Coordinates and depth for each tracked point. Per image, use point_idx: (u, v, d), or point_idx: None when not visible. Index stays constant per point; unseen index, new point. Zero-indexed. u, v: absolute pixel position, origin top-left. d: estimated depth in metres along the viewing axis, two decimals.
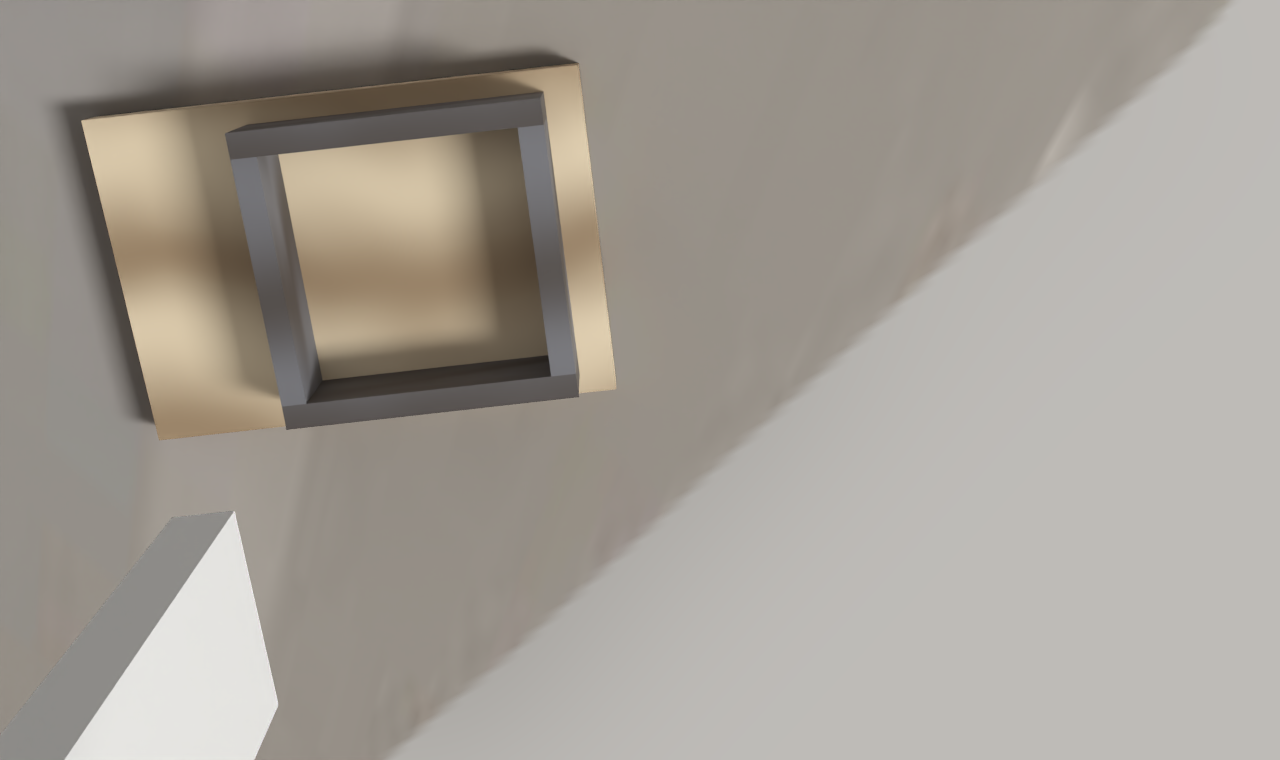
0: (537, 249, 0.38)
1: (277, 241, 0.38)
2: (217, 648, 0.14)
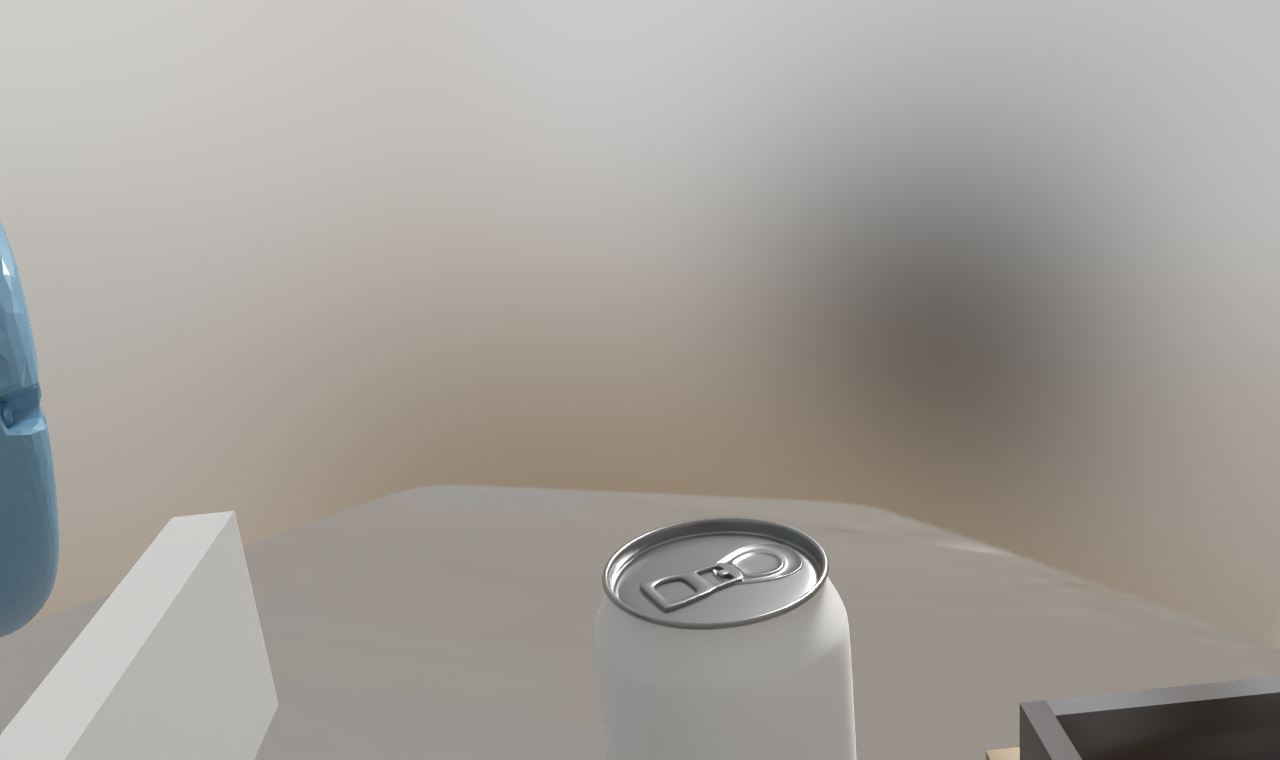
0: (1179, 700, 0.37)
1: None
2: (217, 648, 0.14)
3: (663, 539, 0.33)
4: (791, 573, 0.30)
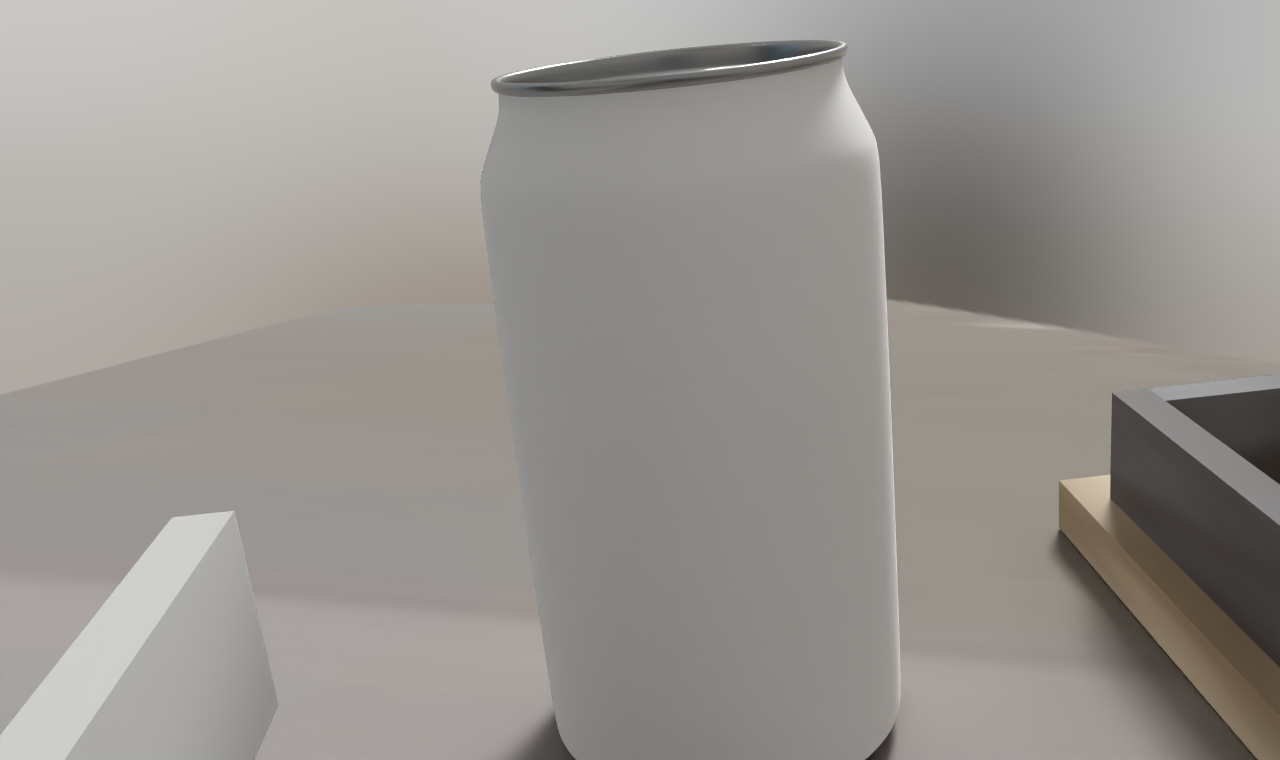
0: None
1: None
2: (217, 648, 0.14)
3: (595, 78, 0.22)
4: None
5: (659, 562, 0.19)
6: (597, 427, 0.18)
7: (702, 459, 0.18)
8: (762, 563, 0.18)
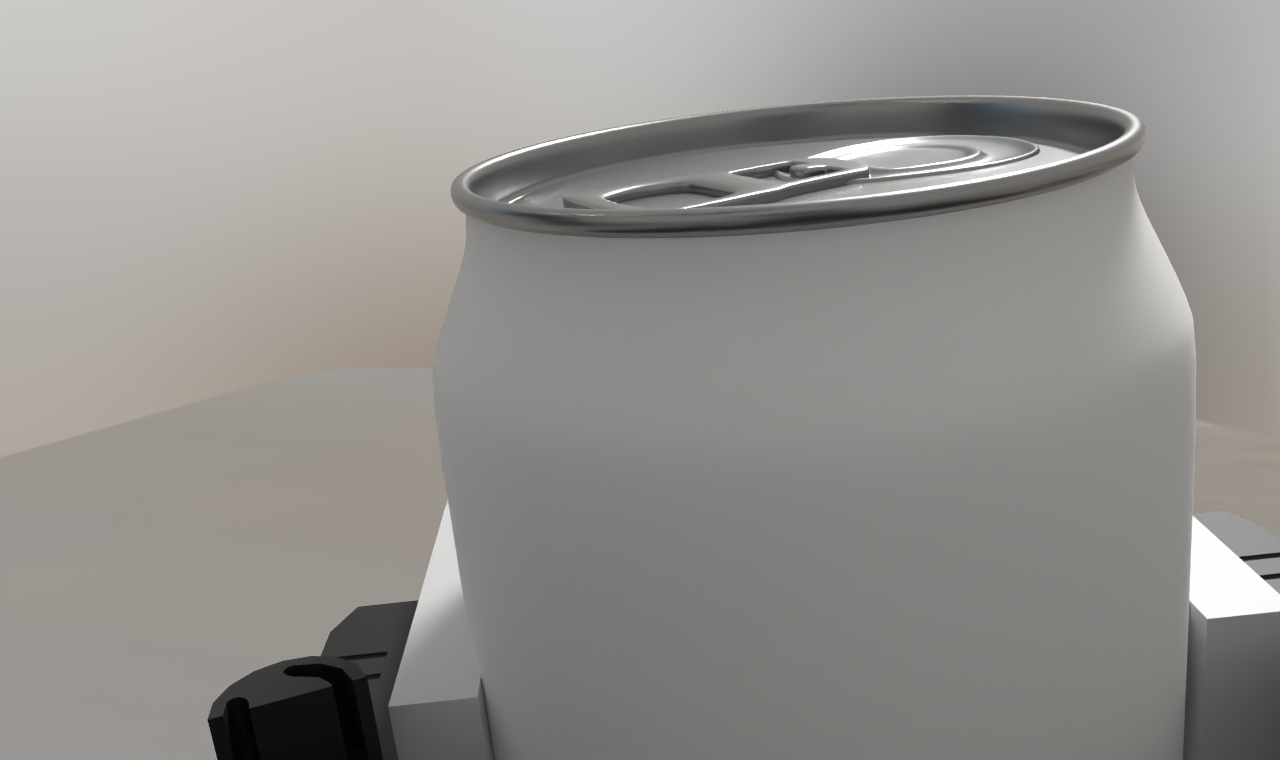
0: None
1: None
2: None
3: (640, 157, 0.13)
4: (1014, 158, 0.10)
5: None
6: None
7: None
8: None
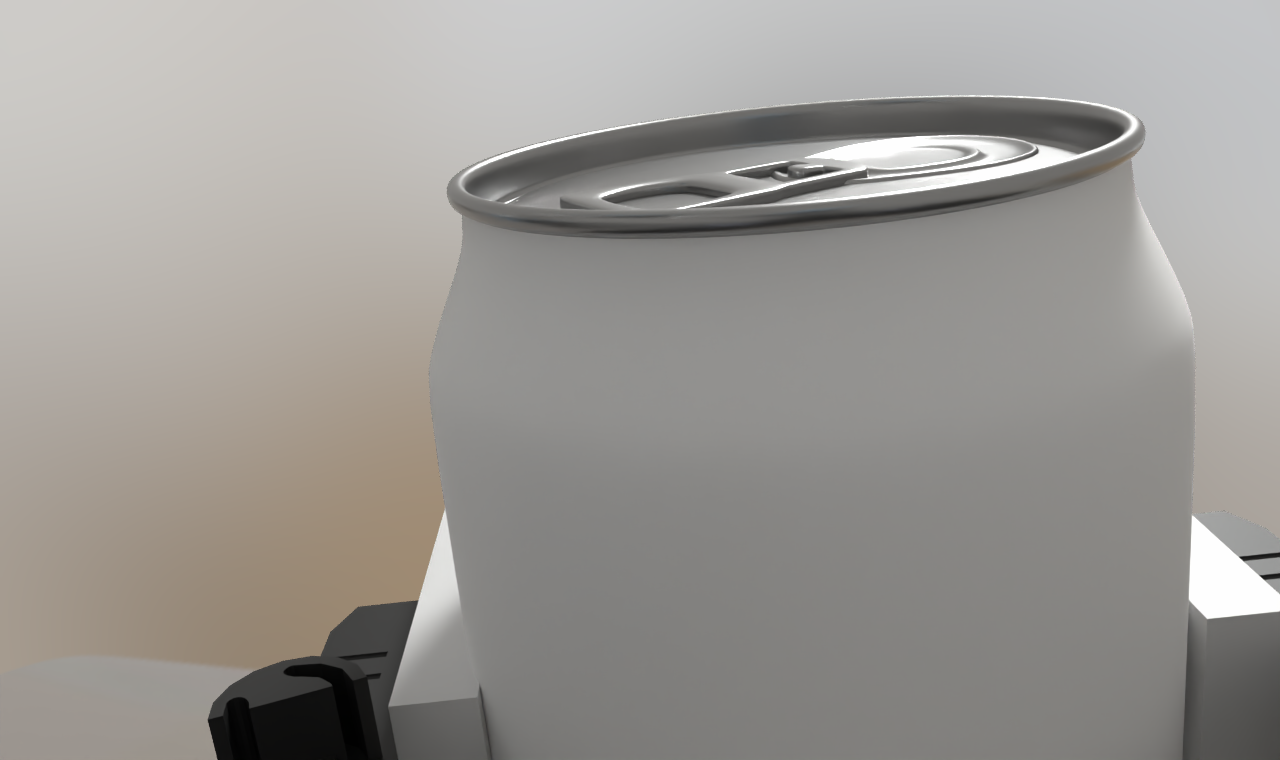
0: None
1: None
2: None
3: (637, 156, 0.13)
4: (1013, 158, 0.10)
5: None
6: None
7: None
8: None
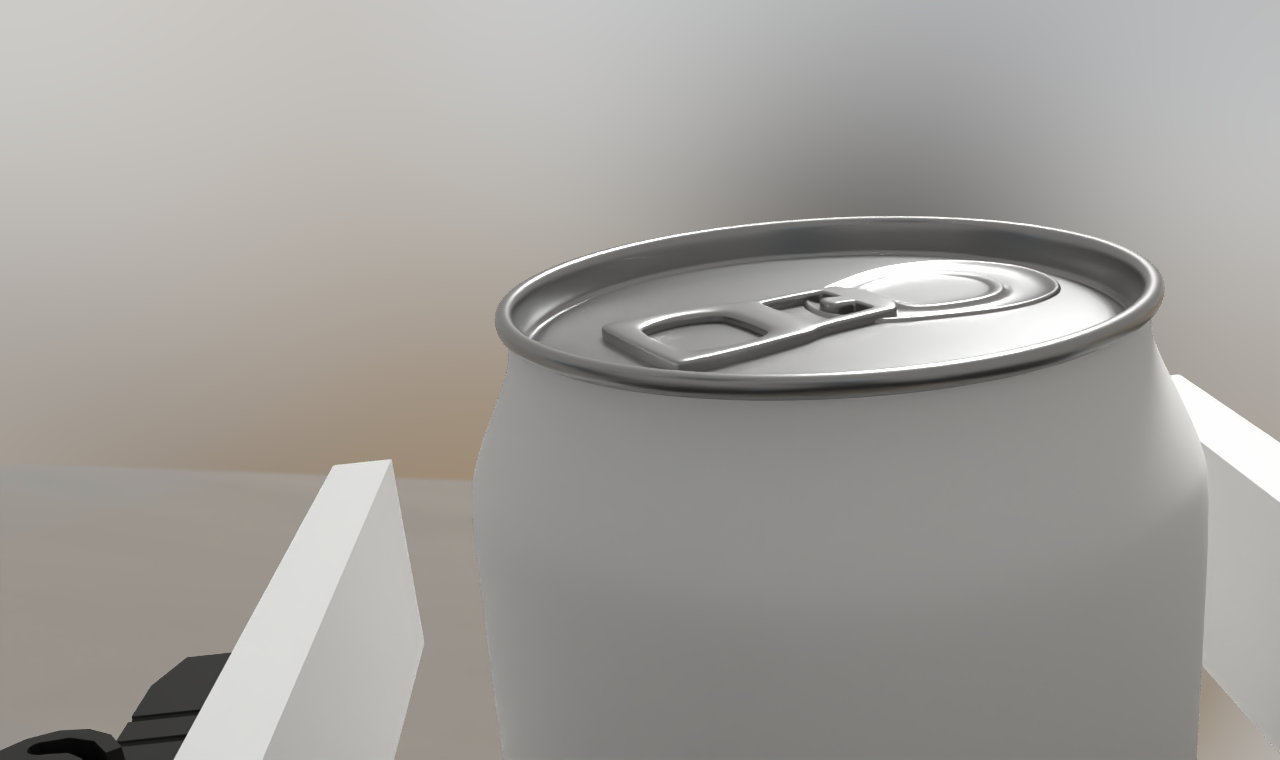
0: None
1: None
2: (386, 582, 0.15)
3: (670, 267, 0.13)
4: (1035, 299, 0.10)
5: None
6: None
7: None
8: None
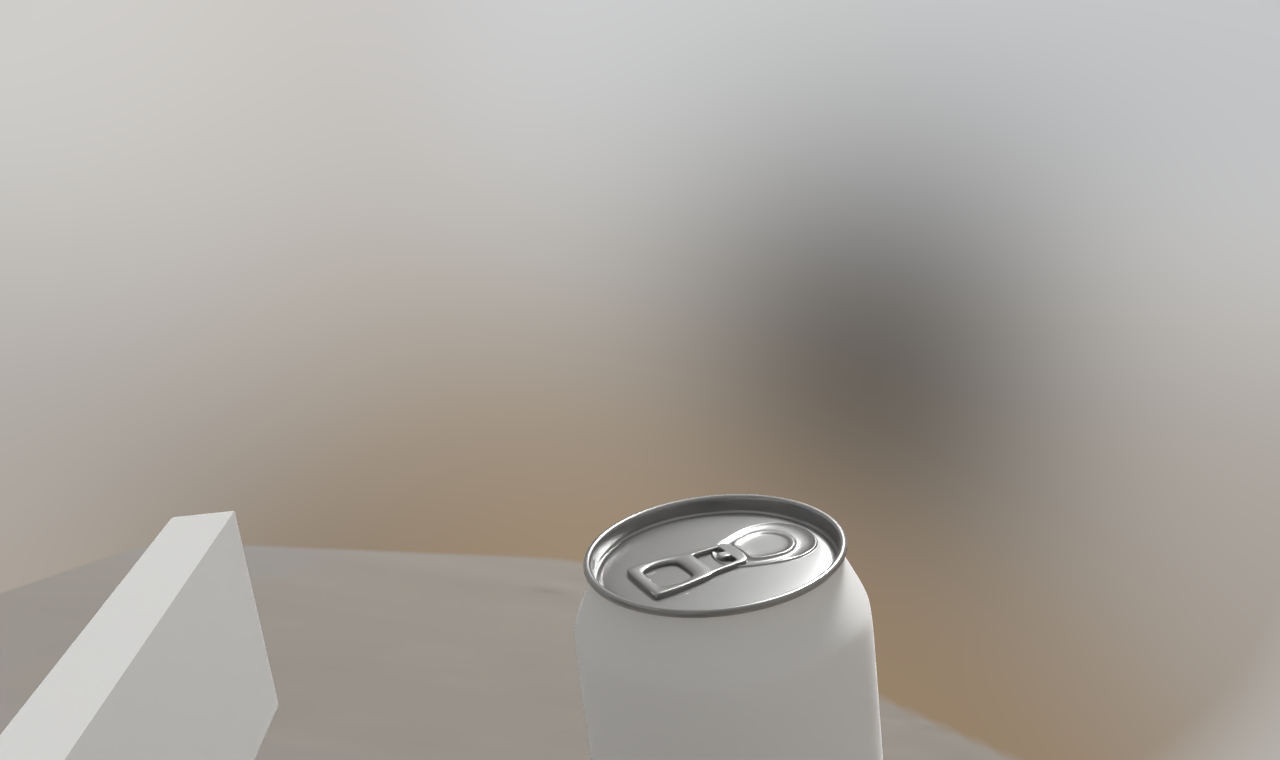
0: None
1: None
2: (217, 648, 0.14)
3: (656, 520, 0.28)
4: (803, 554, 0.26)
5: None
6: None
7: None
8: None
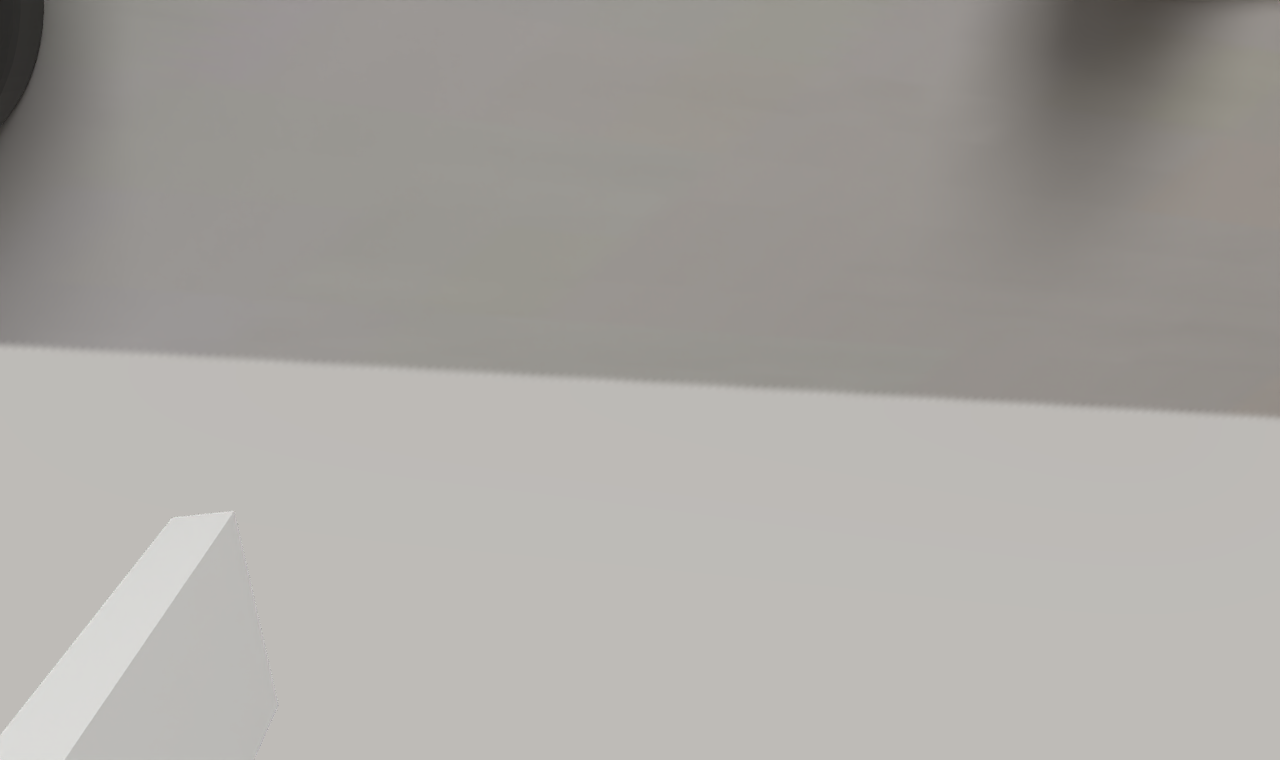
0: None
1: None
2: (217, 648, 0.14)
3: None
4: None
5: None
6: None
7: None
8: None
